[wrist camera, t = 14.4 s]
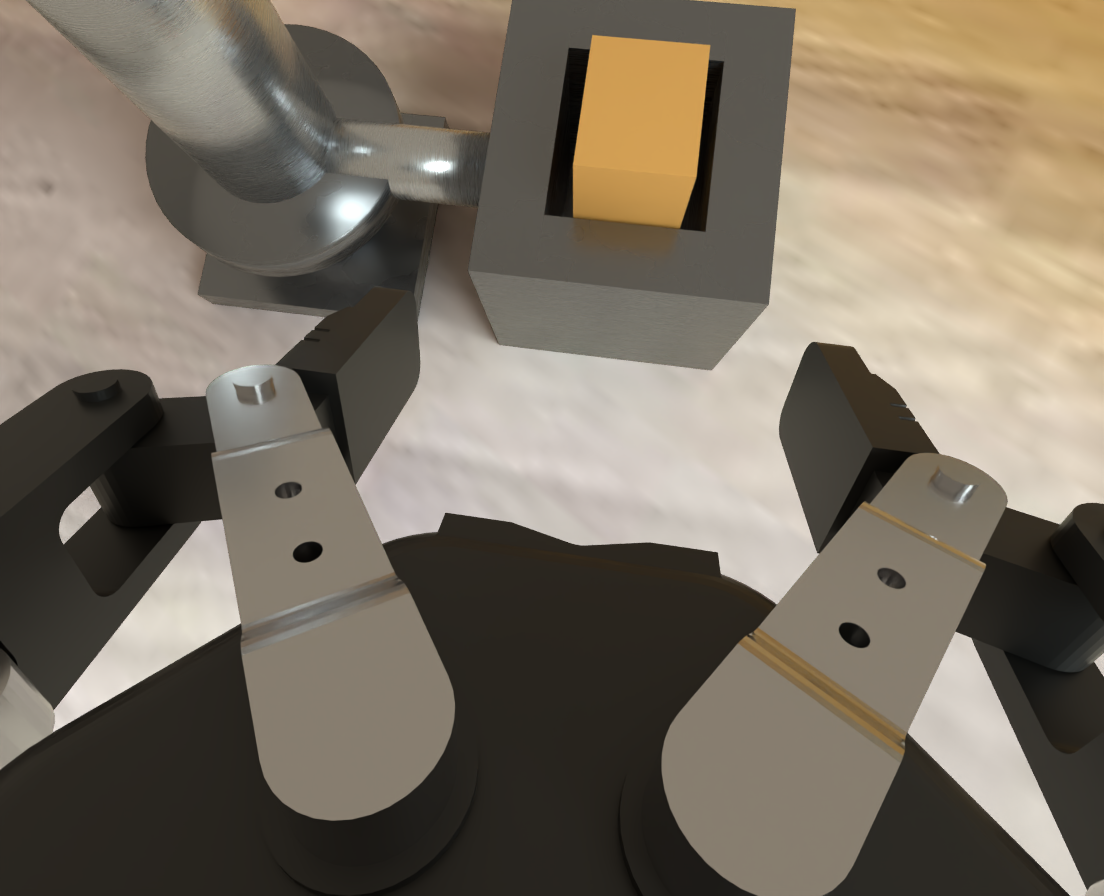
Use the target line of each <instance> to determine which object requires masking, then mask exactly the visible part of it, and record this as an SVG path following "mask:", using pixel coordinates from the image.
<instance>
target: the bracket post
mask: <svg viewBox="0 0 1104 896" xmlns="http://www.w3.org/2000/svg"><path fill="white" fill-rule="evenodd" d="M26 1H27V2H28V3H29V4H30V5H31V6H32V7H33V8H34V9H36V10H37V11H38V12H39V13H40V14H41V15H42V16H43V17H44V18H45V19H46V20H47V21H48V22H49V23H50V24H51V25H52V26H53V27H54V28H55V29H56V30H58V31H59V32H60V33H61V34H62V35H63V36H64V37H65V38H66V39H67V40H68V41H69V42H70V43H71V44H72V45H73V46H74V47H75V48H76V49H77V50H78V51H79V52H81V53H82V54H83V55H84V56H85V57H86V58H87V59H88V60H89V61H90V62H91V63H92V64H93V65H94V66H95V67H96V68H97V69H98V70H99V71H100V72H101V73H103V74H104V75H105V76H106V77H107V78H108V79H109V80H110V81H111V82H112V83H113V84H114V85H115V86H116V87H117V88H118V89H119V90H120V91H121V92H122V93H123V94H124V95H126V96H127V97H128V98H129V99H130V100H131V101H132V102H133V103H134V104H135V105H136V106H137V107H138V108H139V109H140V110H141V111H142V112H143V113H144V114H145V115H146V116H148V117H149V118H150V119H151V122H150V125H149V129H148V135H147V140H146V157H145V158H146V168H147V175H148V179H149V183H150V187H151V190H152V192H153V195H154V197H155V199H156V202H157V203H158V205H159V207H160V208H161V210H162V212H163V213H164V215H165V216H166V217H167V219H168V220H169V221H170V222H171V224H172V225H173V226H174V227H175V228H176V229H177V230H178V231H179V232H180V233H182V234H183V235H184V236H185V237H186V238H187V239H189V240H190V241H192V242H193V243H194V244H196V245H197V246H198V247H200V248H201V249H202V250H204V251H205V252H206V253H207V255H206V259H205V264H204V268H203V273H202V277H201V281H200V286H199V290H198V295H199V296H201V297H203V298H204V299H206V300H208V301H209V302H211V303H212V304H220V305H228V306H236V307H245V308H253V309H262V310H270V311H278V312H287V313H295V314H303V315H312V316H320V317H327V316H328V315H330V314H333V313H335V312H337V311H339V310H342V309H344V308H346V307H354V306H355V305H356V304H357V303H358V302H359V301H360V300H361V299H362V298H363V297H364V296H365V295H366V294H367V293H368V292H369V291H370V290H371V289H372V288H373V287H383V288H391V289H399V290H407V291H411V292H412V293H413V294H414V297H415V301H416V309H417V322H418V316H419V310H420V304H421V299H422V293H423V287H424V281H425V276H426V270H427V264H428V258H429V253H430V247H431V241H432V235H433V230H434V224H435V218H436V212H437V207H438V203H439V204H448V205H458V206H467V207H477V208H478V212H477V218H476V224H475V230H474V236H473V242H472V248H471V254H470V261H469V267H468V272H469V275H470V277H471V279H472V282H473V284H474V286H475V289H476V291H477V293H478V296H479V298H480V300H481V303H482V305H483V308H484V310H485V312H486V315H487V317H488V319H489V322H490V324H491V326H492V329H493V331H494V333H495V336H496V338H497V340H498V343H499V345H505V346H513V347H521V348H530V349H538V350H546V351H555V352H563V353H571V354H580V355H588V356H596V357H605V358H613V359H621V360H630V361H638V362H646V363H655V364H663V365H671V366H680V367H688V368H696V369H705V370H712V369H713V368H714V367H715V366H716V365H717V364H718V362H719V361H720V360H721V359H722V358H723V357H724V356H725V354H726V353H727V352H728V351H729V350H730V349H731V347H732V346H733V345H734V344H735V343H736V342H737V341H738V339H739V338H740V337H741V336H742V335H743V334H744V332H745V331H746V330H747V329H748V328H749V327H750V326H751V324H752V323H753V322H754V321H755V320H756V319H757V317H758V316H759V315H760V314H761V313H762V312H763V311H764V309H765V308H766V307H767V306H768V305H769V296H770V285H771V274H772V263H773V252H774V241H775V230H776V219H777V209H778V198H779V187H780V176H781V165H782V154H783V143H784V132H785V121H786V110H787V99H788V88H789V77H790V67H791V56H792V45H793V34H794V23H795V12H796V9H791V8H779V7H767V6H754V5H742V4H730V3H718V2H705V1H693V0H512V5H511V11H510V17H509V23H508V29H507V35H506V41H505V47H504V53H503V59H502V66H501V72H500V78H499V84H498V90H497V96H496V102H495V108H494V114H493V120H492V126H491V133H487V132H477V131H467V130H456V129H449V128H448V125H447V122H446V119H445V117H435V116H425V115H415V114H404V113H400V111H399V108H398V106H397V104H396V101H395V99H394V97H393V94H392V92H391V90H390V88H389V86H388V84H387V82H386V80H385V78H384V76H383V75H382V73H381V72H380V70H379V69H378V68H377V66H376V65H375V64H374V63H373V62H372V61H371V60H370V59H369V57H368V56H367V55H366V54H364V53H363V52H362V51H361V50H360V49H358V48H357V47H356V46H355V45H353V44H351V43H350V42H348V41H346V40H345V39H343V38H341V37H339V36H337V35H334V34H332V33H330V32H327V31H324V30H321V29H317V28H314V27H309V26H302V25H290V24H284V23H283V22H282V20H281V18H280V16H279V15H278V13H277V11H276V10H275V8H274V6H273V4H272V3H271V1H270V0H26ZM592 35H597V36H609V37H620V38H632V39H644V40H656V41H668V42H679V43H691V44H703V45H710V53H709V62H708V72H707V81H706V91H705V100H704V110H703V119H702V129H701V138H700V148H699V157H698V167H697V176H696V180H695V183H694V186H693V189H692V192H691V195H690V199H689V202H688V205H687V208H686V211H685V214H684V217H683V220H682V223H681V226H680V229H673V228H663V227H654V226H644V225H635V224H625V223H616V222H606V221H597V220H587V219H578V218H573V162H574V155H575V148H576V142H577V135H578V128H579V121H580V115H581V108H582V101H583V94H584V88H585V81H586V74H587V68H588V61H589V54H590V47H591V41H592Z"/></svg>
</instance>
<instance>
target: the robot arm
mask: <svg viewBox="0 0 1104 896" xmlns="http://www.w3.org/2000/svg"><path fill="white" fill-rule="evenodd" d="M419 373H420V350H419V337H418V323H417V309H416V301H415V297H414V294H413V293H412V292H411V291H407V290H399V289H391V288H383V287H373V288H372V289H371V290H370V291H369V292H368V293H367V294H366V295H365V296H364V297H363V298H362V299H361V300H360V301H359V302H358V303H357V304H356V305H355V306H354V307H346V308H344V309H342V310H339V311H337V312H335V313H333V314H330V315H328V316H327V317H325V318H324V319H323V320H322V321H321V322H320V323H319V324H318V325H317V326H316V327H315V330H312V331H311V332H310V333H308V334H307V335H306V336H305V337H304V340H301V341H300V342H299V343H298V344H297V345H296V346H295V347H294V348H293V349H291V350H290V351H289V352H288V353H287V354H286V355H285V356H284V357H283V358H282V359H281V360H280V361H279V362H278V363H277V364H275V365H254V366H247V367H242V368H238V369H235V370H232V371H229V372H227V373H225V374H223V375H221V376H219V377H218V378H216V379H215V380H213V381H212V382H211V383H210V384H209V386H208V387H207V390H206V396H201V397H182V398H162V399H159V398H158V395H157V393H156V390H155V388H154V385H153V383H152V381H151V379H150V377H148V376H147V375H146V374H143V373H141V372H138V371H133V370H122V369H120V370H105V371H98V372H93V373H89V374H85V375H82V376H78V377H75V378H73V379H70V380H68V381H66V382H64V383H61V384H60V385H58V386H56V387H55V388H53V389H52V390H50V391H49V392H47V393H46V394H44V395H43V396H41V397H40V398H39V399H37V400H36V401H34V402H33V403H31V404H30V405H28V406H27V407H25V408H24V409H23V410H21V411H20V412H18V413H17V414H15V415H14V416H12V417H11V418H9V419H8V420H6V421H5V422H4V423H2V424H1V425H0V896H1070V895H1069V894H1068V893H1067V892H1066V891H1065V890H1064V889H1063V888H1062V887H1061V886H1060V885H1059V884H1058V883H1057V882H1056V881H1055V880H1054V879H1053V878H1052V877H1051V876H1050V875H1049V874H1048V873H1047V872H1046V871H1045V870H1044V869H1043V868H1042V867H1041V866H1040V865H1039V864H1038V863H1037V862H1036V861H1035V860H1034V859H1033V858H1032V857H1031V856H1030V855H1029V854H1028V853H1027V852H1026V851H1025V850H1024V849H1023V848H1022V847H1021V846H1020V845H1019V844H1018V843H1017V842H1016V841H1015V840H1014V839H1013V838H1012V837H1011V836H1010V835H1009V834H1008V833H1007V832H1006V831H1005V830H1004V829H1003V828H1002V827H1001V826H1000V825H999V824H998V823H997V822H996V821H995V820H994V819H993V818H992V817H991V816H990V815H989V814H988V813H987V812H986V811H985V810H984V809H983V808H982V807H981V806H980V805H979V804H978V803H977V802H976V801H975V800H974V799H973V798H972V797H971V796H970V795H969V794H968V793H967V792H966V791H965V790H964V789H963V788H962V787H961V786H960V785H959V784H958V783H957V782H956V781H955V780H954V779H953V778H952V777H951V776H950V775H949V774H948V773H947V772H946V771H945V770H944V769H943V768H942V767H941V766H940V765H939V764H938V763H937V762H936V761H935V760H934V759H933V758H932V757H931V756H930V755H929V754H928V753H927V752H926V751H925V750H924V749H923V748H922V747H921V746H920V745H919V744H918V743H917V742H916V741H915V740H914V739H913V738H912V737H911V736H910V735H909V734H908V733H907V732H908V730H909V727H910V725H911V723H912V721H913V719H914V717H915V715H916V713H917V711H918V709H919V706H920V704H921V702H922V700H923V698H924V696H925V694H926V692H927V690H928V688H929V686H930V683H931V681H932V679H933V677H934V675H935V673H936V671H937V669H938V667H939V665H940V662H941V660H942V658H943V656H944V654H945V652H946V650H947V648H948V646H949V644H950V642H951V639H952V637H953V635H954V633H955V632H958V633H960V634H963V635H966V636H968V637H971V638H972V640H973V643H974V646H975V648H976V650H977V652H978V654H979V656H980V659H981V661H982V663H983V665H984V667H985V669H986V672H987V674H988V676H989V678H990V680H991V682H992V685H993V687H994V689H995V691H996V693H997V695H998V698H999V700H1000V702H1001V704H1002V706H1003V709H1004V711H1005V713H1006V715H1007V717H1008V719H1009V722H1010V724H1011V726H1012V728H1013V730H1014V732H1015V735H1016V737H1017V739H1018V741H1019V743H1020V745H1021V748H1022V750H1023V752H1024V754H1025V756H1026V758H1027V761H1028V763H1029V765H1030V767H1031V769H1032V772H1033V774H1034V776H1035V778H1036V780H1037V782H1038V785H1039V787H1040V789H1041V791H1042V793H1043V795H1044V798H1045V800H1046V802H1047V804H1048V806H1049V808H1050V811H1051V813H1052V815H1053V817H1054V819H1055V821H1056V824H1057V826H1058V828H1059V830H1060V832H1061V834H1062V837H1063V839H1064V841H1065V843H1066V845H1067V848H1068V850H1069V852H1070V854H1071V856H1072V858H1073V861H1074V863H1075V865H1076V867H1077V869H1078V871H1079V874H1080V876H1081V878H1082V880H1083V882H1084V884H1085V887H1086V889H1087V892H1086V894H1085V896H1104V677H1103V675H1102V674H1101V672H1100V670H1099V669H1098V667H1097V666H1096V664H1095V663H1094V661H1095V660H1096V659H1097V658H1098V657H1100V656H1101V655H1102V654H1103V653H1104V504H1099V503H1085V504H1081V505H1078V506H1077V507H1075V508H1074V509H1073V511H1072V512H1071V513H1070V514H1069V515H1068V516H1067V518H1066V519H1065V520H1064V521H1063V522H1062V523H1061V524H1056V523H1053V522H1050V521H1047V520H1044V519H1041V518H1038V517H1035V516H1031V515H1028V514H1025V513H1022V512H1019V511H1016V510H1013V509H1010V508H1007V507H1006V506H1007V502H1008V500H1007V495H1006V493H1005V491H1004V490H1003V488H1002V487H1001V486H1000V485H999V484H998V483H997V482H996V481H995V480H994V479H993V478H992V477H991V476H989V475H988V474H986V473H985V472H983V471H982V470H980V469H978V468H977V467H975V466H973V465H971V464H969V463H967V462H964V461H962V460H959V459H956V458H953V457H950V456H946V455H942V454H939V452H938V451H937V449H936V448H935V446H934V445H933V443H932V442H931V440H930V439H929V437H928V436H927V435H926V433H925V432H924V430H923V429H922V427H921V426H920V424H919V423H918V422H916V421H915V417H914V415H913V414H912V412H911V411H910V410H909V408H906V406H907V405H906V404H905V402H904V401H903V399H902V398H901V396H900V395H899V393H898V392H897V390H896V389H895V388H893V387H892V386H891V385H889V384H888V383H887V382H885V381H884V380H883V379H881V378H880V377H878V376H877V375H876V374H871V373H870V372H869V370H868V368H867V367H866V365H865V364H864V362H863V361H862V359H861V357H860V356H859V354H858V353H857V351H856V350H855V348H854V347H851V346H843V345H835V344H827V343H819V342H812V343H811V344H809V346H808V347H807V348H806V350H805V352H804V354H803V357H802V360H801V362H800V365H799V367H798V370H797V373H796V375H795V378H794V380H793V383H792V386H791V388H790V391H789V393H788V396H787V399H786V401H785V404H784V406H783V409H782V413H781V417H780V424H779V435H780V440H781V443H782V446H783V449H784V452H785V455H786V458H787V462H788V465H789V468H790V471H791V474H792V477H793V480H794V483H795V486H796V489H797V492H798V495H799V498H800V502H801V505H802V508H803V511H804V514H805V517H806V520H807V523H808V526H809V529H810V532H811V535H812V538H813V542H814V545H815V548H816V551H817V553H820V554H819V555H818V556H817V558H816V559H815V560H814V561H813V562H812V564H811V565H810V566H809V567H808V568H807V570H806V571H805V572H804V573H803V574H802V576H801V577H800V578H799V579H798V580H797V582H796V583H795V584H794V585H793V586H792V588H791V589H790V590H789V591H788V592H787V593H786V595H785V596H784V597H783V598H782V599H781V601H780V602H779V603H778V604H775V603H774V602H773V601H771V600H770V599H768V598H767V597H765V596H764V595H762V594H761V593H759V592H758V591H756V590H754V589H752V588H751V587H749V586H747V585H745V584H743V583H741V582H739V581H737V580H734V579H732V578H730V577H727V576H725V575H722V574H721V573H720V566H719V558H718V552H711V551H704V550H697V549H691V548H684V547H677V546H670V545H663V544H656V543H629V544H609V545H588V546H580V545H575V544H571V543H568V542H565V541H563V540H560V539H557V538H554V537H551V536H548V535H546V534H543V533H540V532H537V531H534V530H531V529H529V528H526V527H523V526H520V525H517V524H514V523H512V522H506V521H499V520H492V519H485V518H478V517H471V516H465V515H458V514H451V513H445V515H444V518H443V520H442V523H441V525H440V528H439V530H438V532H432V533H423V534H416V535H411V536H407V537H403V538H398V539H395V540H392V541H389V542H386V543H383V544H382V543H381V541H380V539H379V537H378V534H377V532H376V530H375V528H374V526H373V523H372V521H371V519H370V517H369V514H368V512H367V510H366V508H365V505H364V503H363V501H362V499H361V497H360V494H359V492H358V490H357V488H356V483H357V482H358V480H359V478H360V477H361V475H362V474H363V472H364V470H365V469H366V467H367V465H368V464H369V462H370V461H371V459H372V457H373V456H374V454H375V453H376V451H377V449H378V448H379V446H380V444H381V443H382V441H383V440H384V438H385V436H386V435H387V433H388V431H389V430H390V428H391V427H392V425H393V423H394V422H395V420H396V419H397V417H398V415H399V414H400V412H401V410H402V409H403V407H404V406H405V404H406V402H407V401H408V399H409V397H410V396H411V394H412V393H413V391H414V389H415V387H416V385H417V382H418V378H419ZM89 486H90V487H91V489H92V491H93V493H94V494H95V496H96V498H97V500H98V502H99V503H100V505H101V508H100V509H99V510H98V511H97V512H96V513H95V514H94V515H93V516H92V517H91V518H90V519H89V520H88V521H87V522H86V523H85V524H84V525H83V526H82V527H81V528H80V529H79V530H78V531H77V532H76V533H75V534H74V535H73V536H72V537H71V538H70V539H69V540H68V541H67V542H66V543H65V544H64V545H63V543H62V541H61V539H60V536H59V524H60V520H61V517H62V515H63V513H64V511H65V509H66V508H67V507H68V506H69V505H70V503H72V502H73V501H74V500H75V499H76V498H77V497H78V496H79V495H80V494H81V493H82V492H83V491H85V490H86V489H87V488H88V487H89ZM219 519H223V525H224V530H225V536H226V541H227V547H228V553H229V558H230V564H231V569H232V575H233V581H234V586H235V592H236V597H237V603H238V609H239V614H240V620H241V624H239V625H237V626H236V627H234V628H232V629H231V630H229V631H227V632H225V633H224V634H222V635H220V636H218V637H217V638H215V639H213V640H212V641H210V642H208V643H206V644H205V645H203V646H201V647H199V648H198V649H196V650H194V651H193V652H191V653H189V654H187V655H186V656H184V657H182V658H181V659H179V660H177V661H175V662H174V663H172V664H170V665H168V666H167V667H165V668H163V669H162V670H160V671H158V672H156V673H155V674H153V675H151V676H149V677H148V678H146V679H144V680H143V681H141V682H139V683H137V684H136V685H134V686H132V687H131V688H129V689H127V690H125V691H124V692H122V693H120V694H118V695H117V696H115V697H113V698H112V699H110V700H108V701H106V702H105V703H103V704H101V705H99V706H98V707H96V708H94V709H93V710H91V711H89V712H87V713H86V714H84V715H82V716H81V717H79V718H77V719H75V720H74V721H72V722H70V723H68V724H67V725H65V726H63V727H62V728H60V729H58V730H56V731H55V732H53V728H54V724H55V714H54V711H53V710H54V709H55V708H56V707H57V705H58V704H59V703H60V702H61V700H62V699H63V698H64V696H65V695H66V694H67V693H68V691H69V690H70V689H71V688H72V686H73V685H74V684H75V682H76V681H77V680H78V679H79V677H80V676H81V675H82V674H83V672H84V671H85V670H86V668H87V667H88V666H89V665H90V663H91V662H92V661H93V660H94V658H95V657H96V656H97V654H98V653H99V652H100V651H101V649H102V648H103V647H104V646H105V644H106V643H107V642H108V640H109V639H110V638H111V637H112V635H113V634H114V633H115V631H116V630H117V629H118V628H119V626H120V625H121V624H122V623H123V621H124V620H125V619H126V617H127V616H128V615H129V614H130V612H131V611H132V610H133V609H134V607H135V606H136V605H137V603H138V602H139V601H140V600H141V598H142V597H143V596H144V595H145V593H146V592H147V591H148V589H149V588H150V587H151V586H152V584H153V583H154V582H155V581H156V579H157V578H158V577H159V575H160V574H161V573H162V572H163V570H164V569H165V568H166V567H167V565H168V564H169V563H170V561H171V560H172V559H173V558H174V556H175V555H176V554H177V552H178V551H179V550H180V549H181V547H182V546H183V545H184V544H185V542H186V541H187V540H188V538H189V537H190V536H191V535H192V533H193V532H194V531H195V530H196V528H197V527H198V526H199V524H200V523H201V521H208V520H219ZM52 732H53V733H52Z"/></svg>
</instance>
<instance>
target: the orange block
mask: <svg viewBox="0 0 1104 896" xmlns="http://www.w3.org/2000/svg"><path fill="white" fill-rule="evenodd" d="M709 53H710V45H703V44H691V43H679V42H668V41H656V40H644V39H632V38H620V37H609V36H597V35H592V41H591V47H590V54H589V61H588V68H587V74H586V81H585V88H584V94H583V101H582V108H581V115H580V121H579V128H578V135H577V142H576V148H575V155H574V162H573V218H578V219H587V220H597V221H606V222H616V223H625V224H635V225H644V226H654V227H663V228H673V229H680V226H681V223H682V220H683V217H684V214H685V211H686V208H687V205H688V202H689V199H690V195H691V192H692V189H693V186H694V183H695V180H696V176H697V167H698V157H699V148H700V138H701V129H702V119H703V110H704V100H705V91H706V81H707V72H708V62H709Z"/></svg>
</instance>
